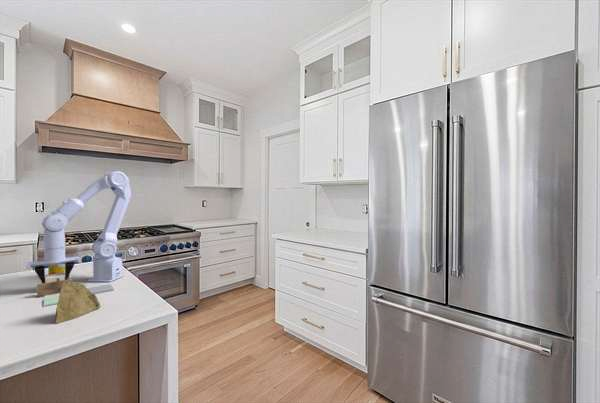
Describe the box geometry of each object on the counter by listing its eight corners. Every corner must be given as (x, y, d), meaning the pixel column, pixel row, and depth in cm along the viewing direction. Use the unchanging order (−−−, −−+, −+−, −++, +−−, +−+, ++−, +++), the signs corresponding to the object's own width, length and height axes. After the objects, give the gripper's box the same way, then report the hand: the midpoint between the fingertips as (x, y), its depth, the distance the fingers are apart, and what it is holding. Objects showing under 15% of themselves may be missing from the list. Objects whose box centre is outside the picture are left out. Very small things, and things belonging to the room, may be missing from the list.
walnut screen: (71, 289, 98) (71, 278, 98) (72, 291, 96) (72, 280, 96) (37, 295, 92) (37, 283, 92) (36, 297, 90) (36, 286, 90)
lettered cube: (64, 285, 102) (64, 272, 102) (64, 289, 98) (64, 275, 98) (46, 288, 98) (45, 275, 98) (45, 292, 95) (45, 278, 95)
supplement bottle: (45, 277, 111) (44, 253, 111) (60, 273, 116) (59, 251, 116) (54, 278, 110) (53, 254, 109) (69, 274, 115) (68, 252, 114)
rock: (102, 295, 87) (62, 297, 81) (105, 278, 83) (62, 279, 77) (97, 327, 79) (51, 331, 74) (99, 310, 75) (51, 313, 70)
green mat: (72, 294, 93) (72, 293, 93) (73, 300, 88) (73, 299, 88) (44, 299, 88) (44, 298, 88) (43, 306, 83) (43, 305, 83)
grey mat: (110, 285, 103) (110, 284, 103) (113, 290, 97) (113, 289, 97) (87, 289, 98) (87, 288, 98) (89, 295, 93) (89, 293, 93)
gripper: (79, 243, 106) (80, 278, 106) (27, 248, 96) (27, 286, 96) (81, 246, 101) (81, 282, 101) (25, 251, 91) (26, 291, 91)
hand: (55, 284), depth 98 cm, fingers open, 5 cm apart
